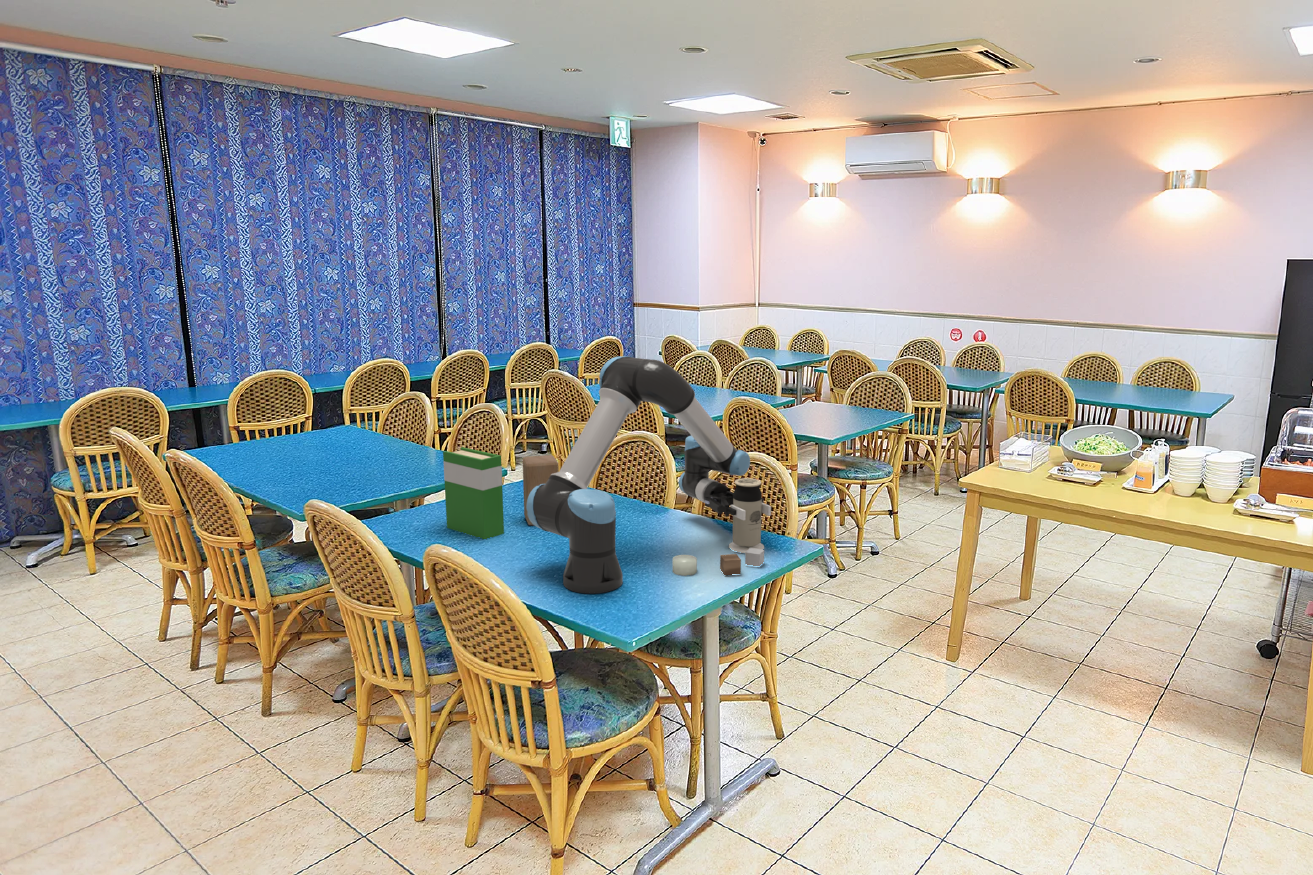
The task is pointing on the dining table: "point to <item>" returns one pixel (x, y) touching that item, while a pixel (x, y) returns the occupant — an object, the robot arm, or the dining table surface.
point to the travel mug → (747, 512)
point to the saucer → (743, 548)
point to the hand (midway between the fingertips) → (757, 513)
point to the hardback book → (474, 492)
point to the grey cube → (754, 557)
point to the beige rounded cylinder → (684, 565)
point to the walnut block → (730, 564)
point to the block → (536, 474)
